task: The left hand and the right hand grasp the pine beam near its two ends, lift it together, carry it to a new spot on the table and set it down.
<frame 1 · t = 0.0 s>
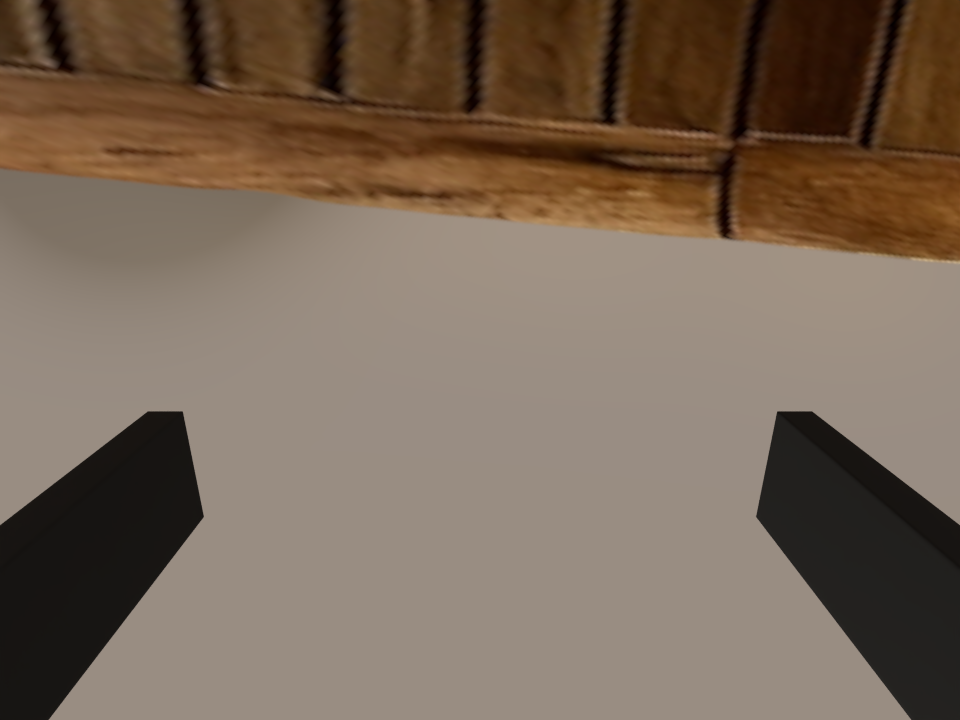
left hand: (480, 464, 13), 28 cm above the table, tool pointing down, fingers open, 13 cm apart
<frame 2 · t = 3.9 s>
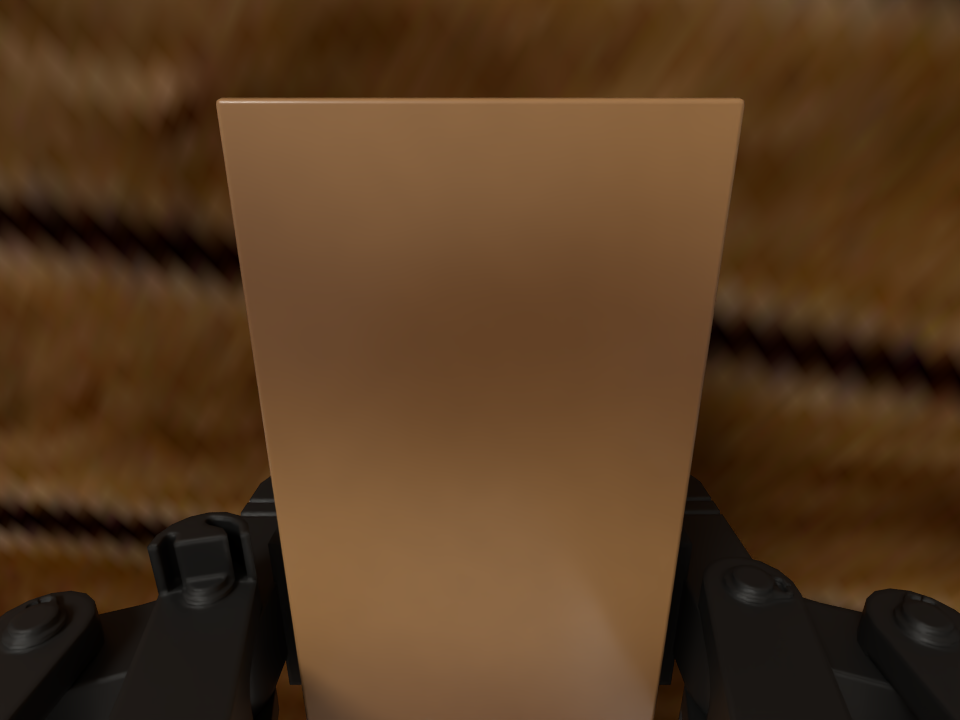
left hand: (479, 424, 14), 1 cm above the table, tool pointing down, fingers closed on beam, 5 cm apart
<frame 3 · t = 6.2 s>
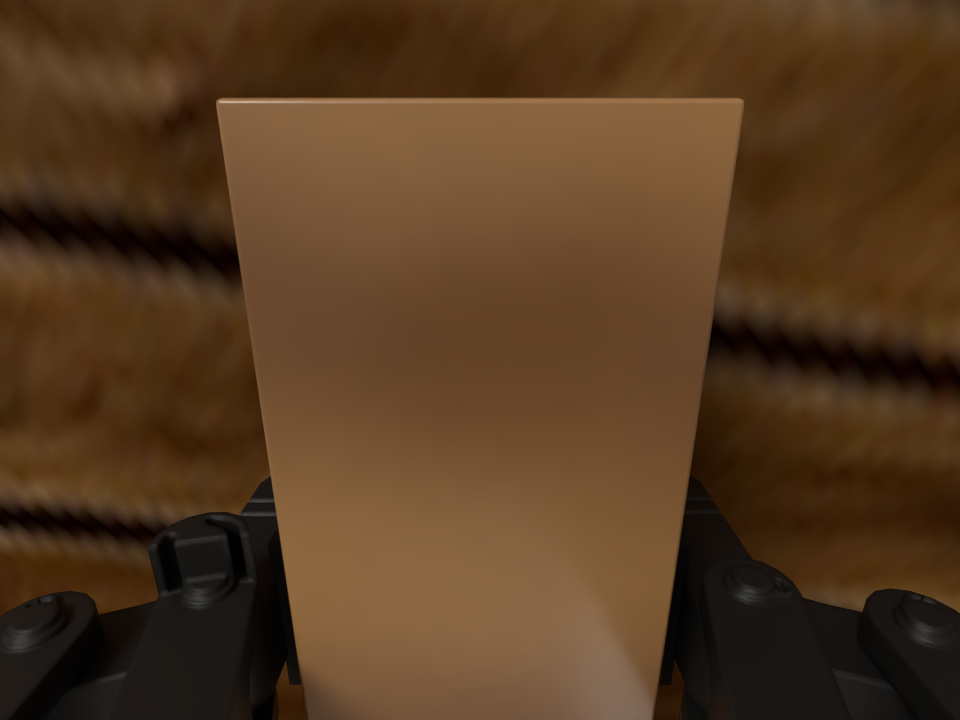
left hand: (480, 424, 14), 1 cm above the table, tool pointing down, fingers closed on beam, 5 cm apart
when the left hand's fingers open (2 cm above the table, at t = 9.4 s): beam drops 2 cm, on the table.
when the right hand's fingers open (2 cm above the table, at t = 9.4 s): beam drops 2 cm, on the table.
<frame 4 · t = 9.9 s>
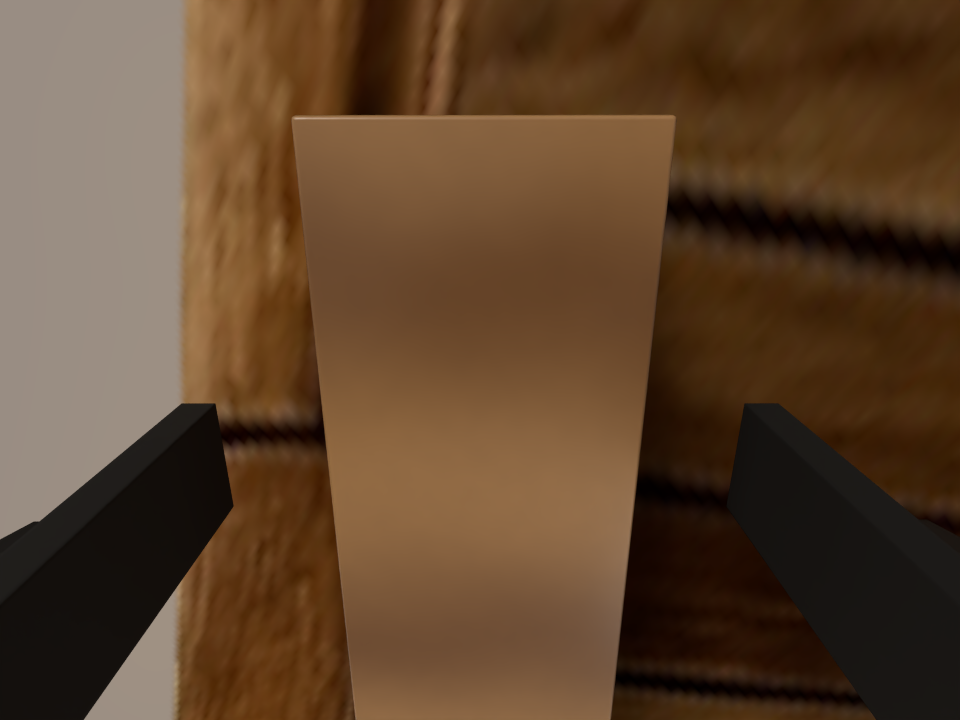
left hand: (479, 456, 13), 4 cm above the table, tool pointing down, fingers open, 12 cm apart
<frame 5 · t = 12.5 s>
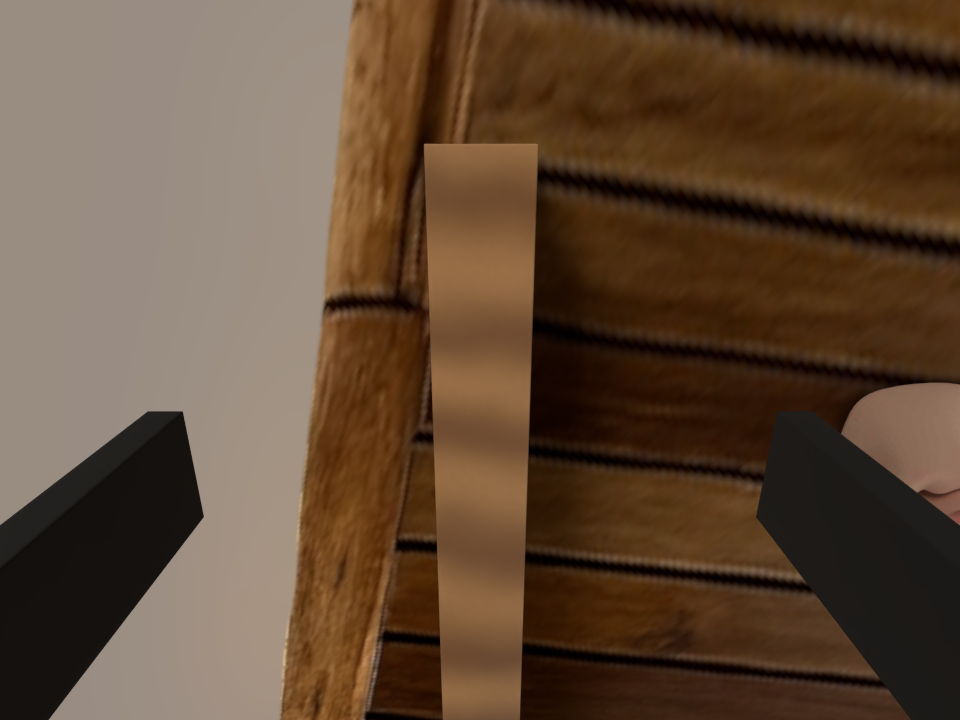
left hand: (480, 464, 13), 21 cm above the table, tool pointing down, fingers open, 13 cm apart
anatomical model: (918, 465, 37), on the table
beam: (481, 603, 41), on the table
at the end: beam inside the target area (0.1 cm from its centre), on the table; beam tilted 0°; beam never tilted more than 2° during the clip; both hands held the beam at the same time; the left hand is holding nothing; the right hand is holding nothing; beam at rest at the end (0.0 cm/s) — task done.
